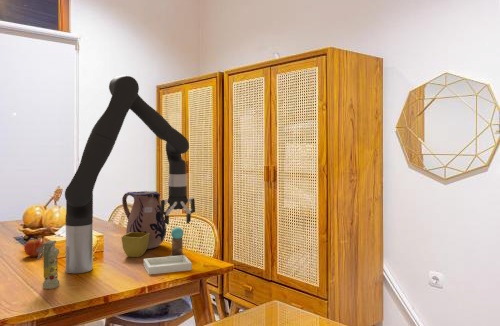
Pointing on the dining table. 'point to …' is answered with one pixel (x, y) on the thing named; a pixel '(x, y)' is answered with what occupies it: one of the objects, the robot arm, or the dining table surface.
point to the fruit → (33, 247)
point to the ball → (177, 233)
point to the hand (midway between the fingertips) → (177, 223)
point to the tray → (167, 264)
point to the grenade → (49, 264)
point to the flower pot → (135, 243)
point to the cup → (177, 247)
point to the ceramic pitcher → (146, 216)
